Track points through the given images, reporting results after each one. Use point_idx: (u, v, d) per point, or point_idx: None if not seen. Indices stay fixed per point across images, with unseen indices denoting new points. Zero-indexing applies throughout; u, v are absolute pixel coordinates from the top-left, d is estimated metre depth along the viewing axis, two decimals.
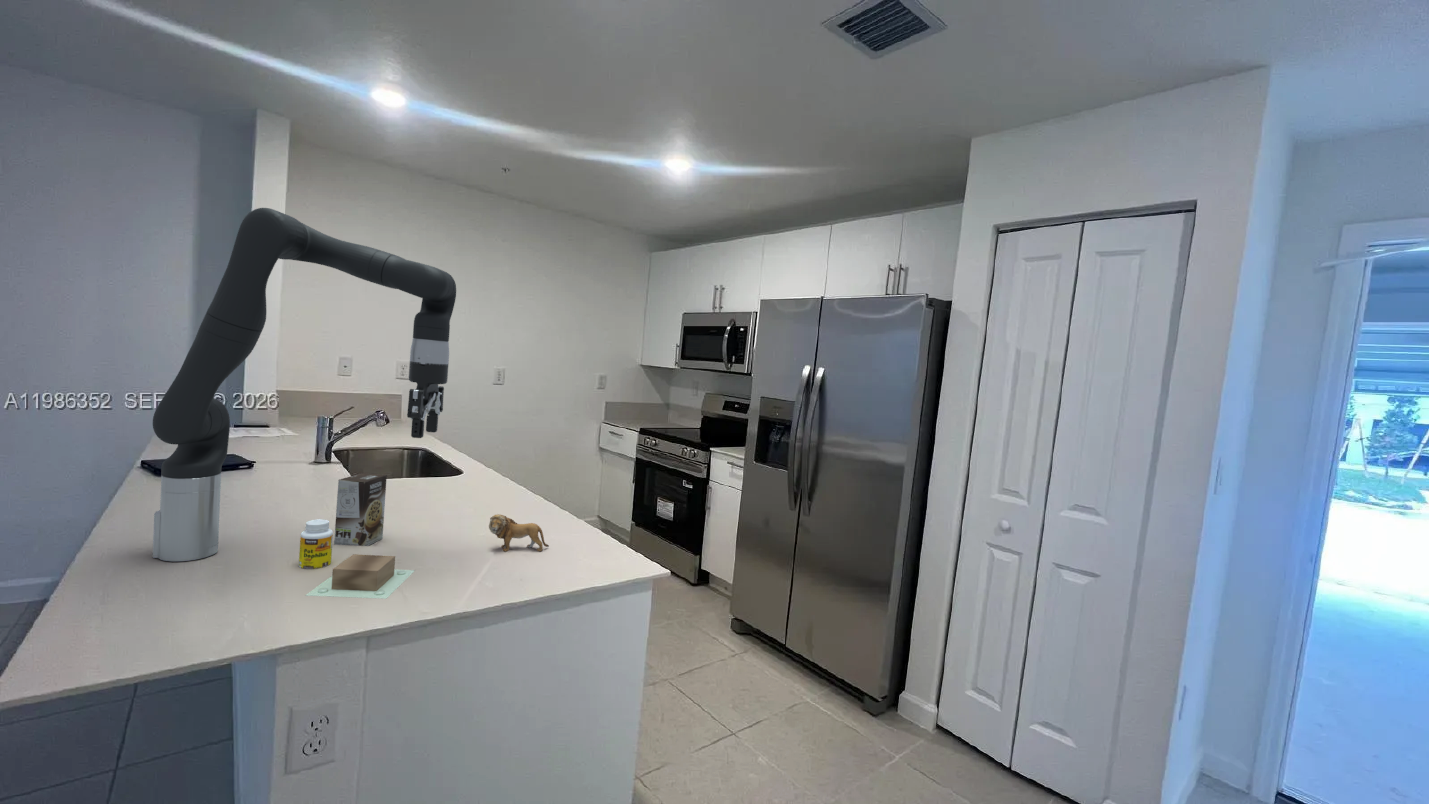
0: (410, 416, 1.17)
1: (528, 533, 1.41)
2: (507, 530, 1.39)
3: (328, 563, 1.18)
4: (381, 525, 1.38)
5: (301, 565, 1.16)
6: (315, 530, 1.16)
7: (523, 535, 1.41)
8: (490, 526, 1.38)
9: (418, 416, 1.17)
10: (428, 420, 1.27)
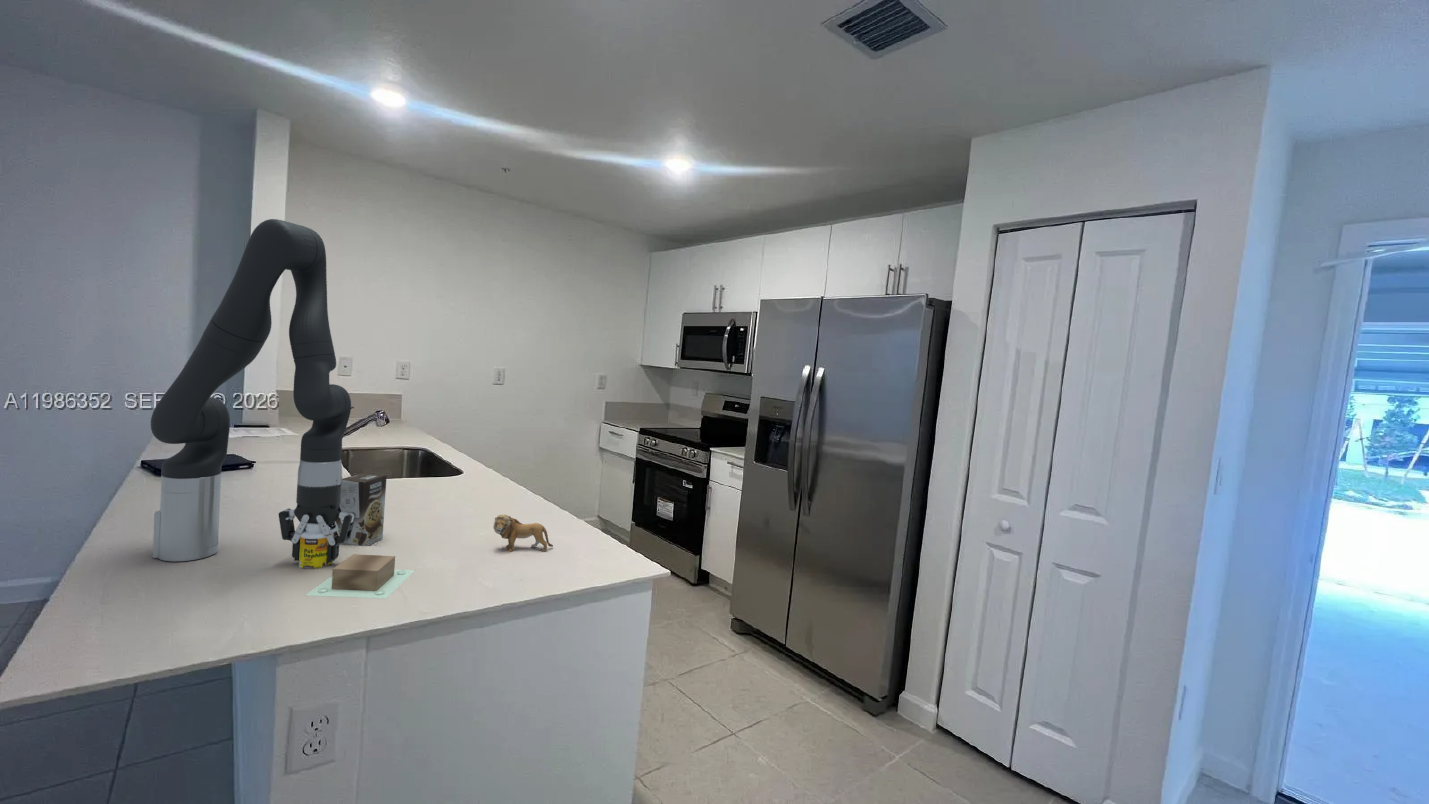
0: (344, 541, 1.18)
1: (532, 533, 1.41)
2: (511, 530, 1.39)
3: (328, 563, 1.18)
4: (381, 525, 1.38)
5: (301, 565, 1.16)
6: (315, 530, 1.16)
7: (527, 535, 1.41)
8: (495, 526, 1.39)
9: (349, 537, 1.20)
10: (299, 548, 1.17)
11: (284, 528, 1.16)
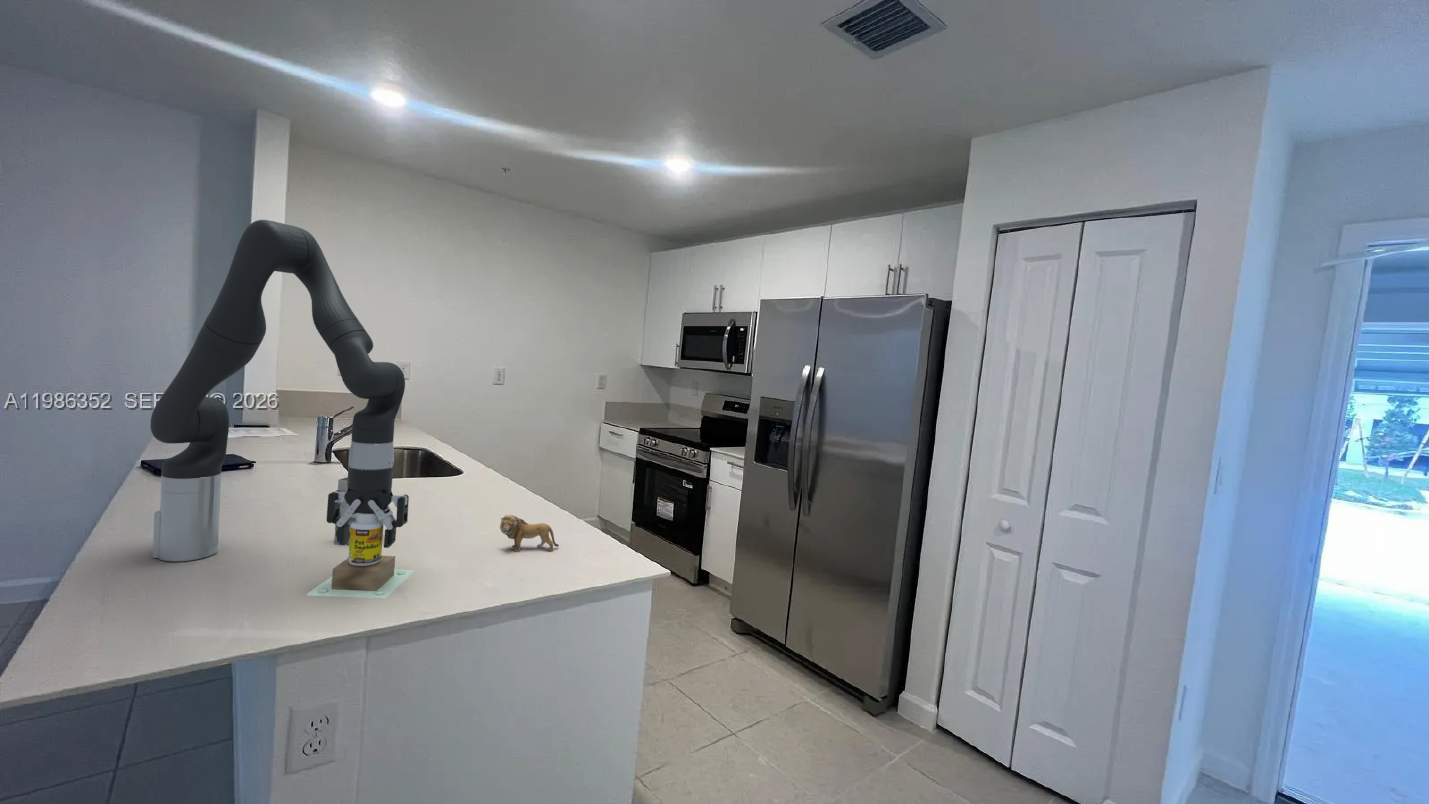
0: (402, 524, 1.12)
1: (539, 533, 1.42)
2: (518, 531, 1.40)
3: (379, 555, 1.12)
4: None
5: (351, 557, 1.09)
6: (366, 520, 1.09)
7: (534, 535, 1.42)
8: (501, 527, 1.39)
9: (406, 521, 1.13)
10: (344, 532, 1.10)
11: (331, 510, 1.09)
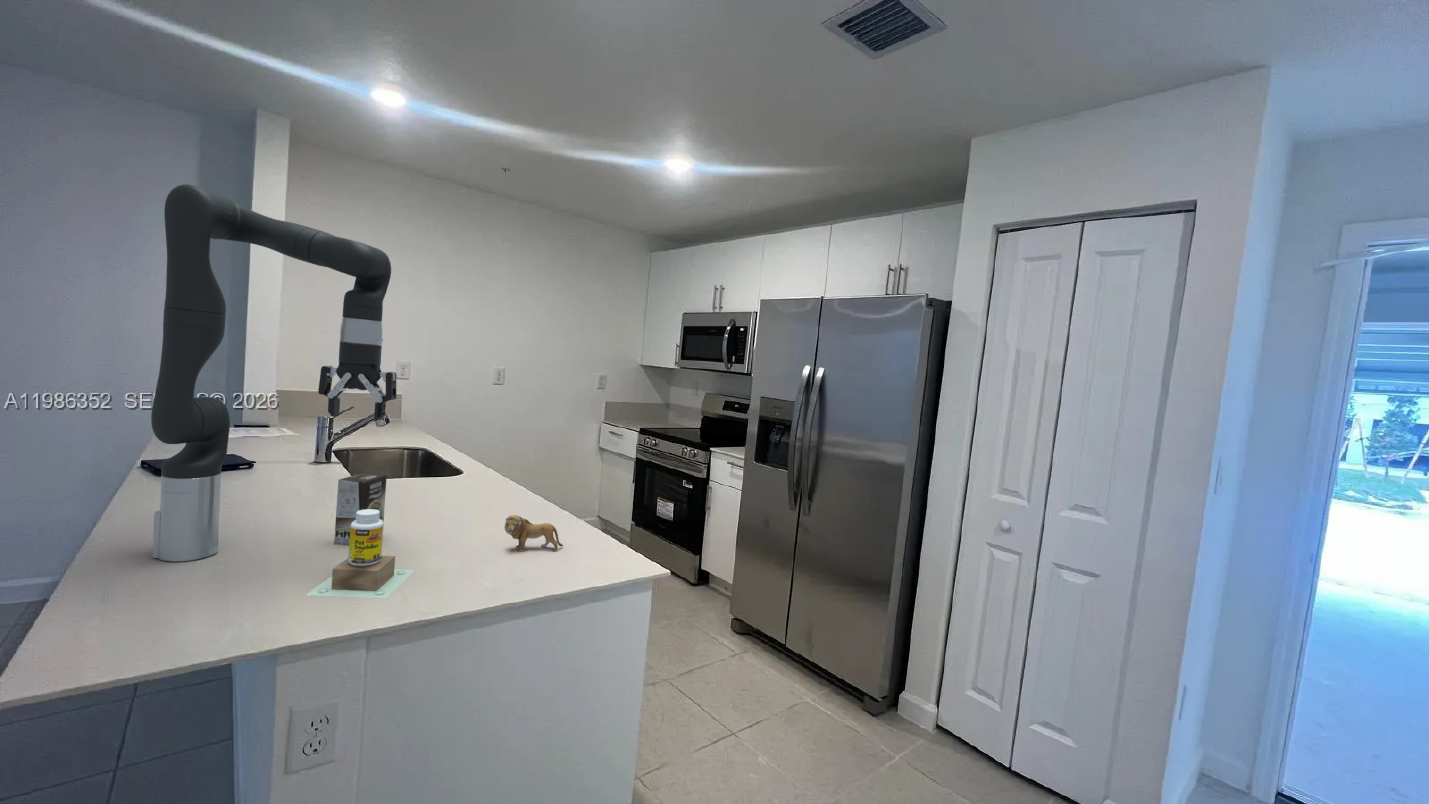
0: (392, 398, 1.20)
1: (543, 533, 1.42)
2: (522, 531, 1.40)
3: (379, 555, 1.12)
4: None
5: (351, 557, 1.09)
6: (366, 520, 1.09)
7: (538, 535, 1.42)
8: (506, 527, 1.39)
9: (395, 397, 1.21)
10: (335, 404, 1.18)
11: (323, 383, 1.17)
